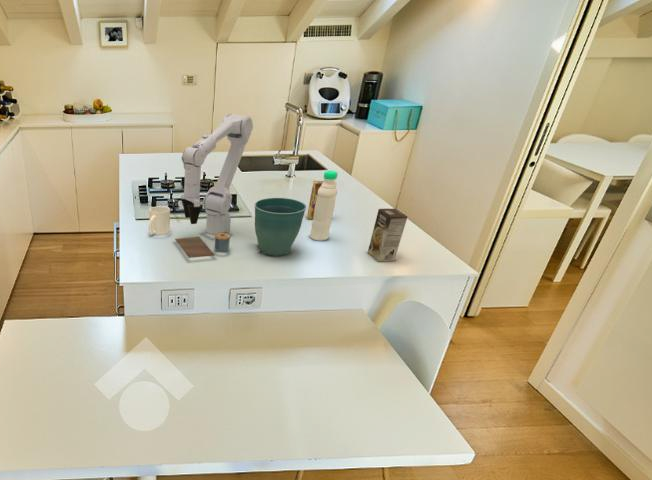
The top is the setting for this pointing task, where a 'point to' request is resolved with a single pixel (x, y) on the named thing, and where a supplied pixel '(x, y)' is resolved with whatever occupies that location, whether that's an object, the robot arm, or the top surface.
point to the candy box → (313, 198)
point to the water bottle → (324, 207)
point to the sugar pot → (222, 242)
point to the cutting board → (194, 247)
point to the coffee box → (387, 234)
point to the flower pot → (277, 224)
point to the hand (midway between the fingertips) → (190, 220)
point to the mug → (159, 220)
